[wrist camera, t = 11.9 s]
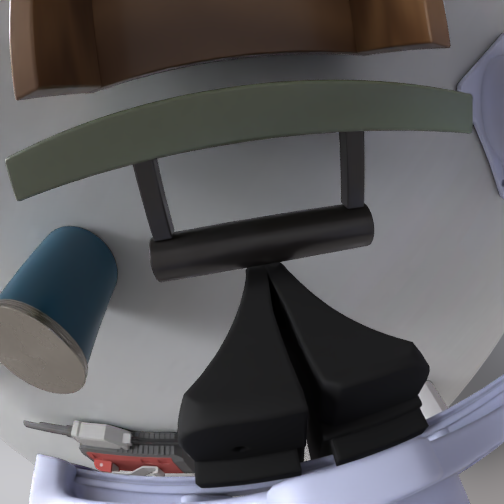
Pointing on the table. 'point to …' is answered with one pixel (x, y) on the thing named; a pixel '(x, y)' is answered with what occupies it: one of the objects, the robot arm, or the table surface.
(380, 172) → the table surface
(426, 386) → the white cup
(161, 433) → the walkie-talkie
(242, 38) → the drawer
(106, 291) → the tin
